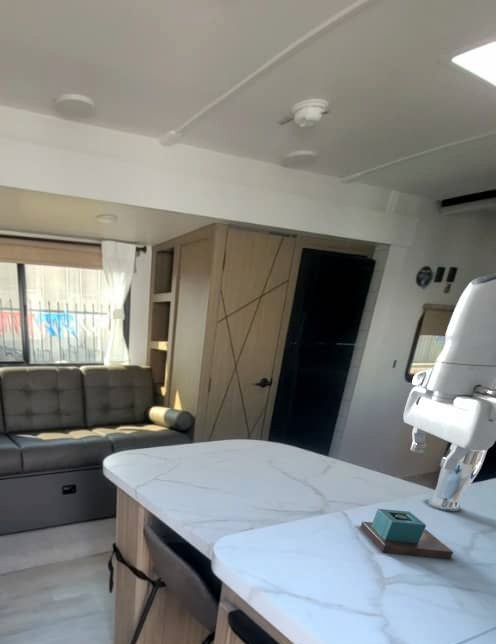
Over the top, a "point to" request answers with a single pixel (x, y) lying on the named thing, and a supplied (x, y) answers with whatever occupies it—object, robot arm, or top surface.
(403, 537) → the teal hollow square block
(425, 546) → the base pad
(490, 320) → the robot arm
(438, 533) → the top surface
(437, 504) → the beer glass
